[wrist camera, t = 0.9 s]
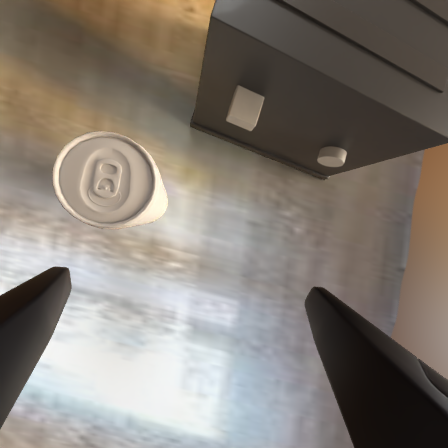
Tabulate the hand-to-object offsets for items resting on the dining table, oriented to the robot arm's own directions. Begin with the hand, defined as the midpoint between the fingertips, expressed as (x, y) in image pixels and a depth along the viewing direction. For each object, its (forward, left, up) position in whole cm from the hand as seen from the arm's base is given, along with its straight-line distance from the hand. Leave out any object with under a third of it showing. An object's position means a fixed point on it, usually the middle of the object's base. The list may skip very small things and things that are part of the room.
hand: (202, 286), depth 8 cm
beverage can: (-1, +6, -15) cm, 17 cm away
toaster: (+16, +6, -15) cm, 23 cm away
